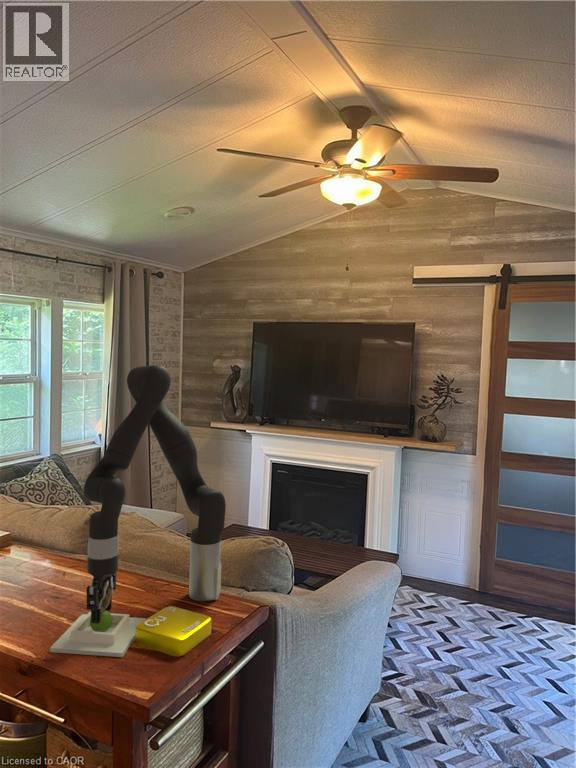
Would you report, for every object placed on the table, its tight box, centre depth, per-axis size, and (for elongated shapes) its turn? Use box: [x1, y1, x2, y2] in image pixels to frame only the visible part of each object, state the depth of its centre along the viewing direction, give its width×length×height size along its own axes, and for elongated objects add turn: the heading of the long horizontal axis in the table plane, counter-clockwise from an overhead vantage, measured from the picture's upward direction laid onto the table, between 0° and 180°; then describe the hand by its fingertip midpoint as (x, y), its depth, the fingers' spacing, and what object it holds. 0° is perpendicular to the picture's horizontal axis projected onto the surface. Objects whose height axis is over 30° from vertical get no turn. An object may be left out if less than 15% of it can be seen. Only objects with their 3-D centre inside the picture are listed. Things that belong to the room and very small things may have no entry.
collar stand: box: [49, 611, 147, 658], centre depth 141 cm, size 18×18×4 cm
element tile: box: [134, 605, 213, 658], centre depth 142 cm, size 15×15×5 cm
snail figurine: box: [90, 586, 114, 632], centre depth 142 cm, size 5×6×12 cm
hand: (101, 615), depth 141 cm, fingers open, 6 cm apart
